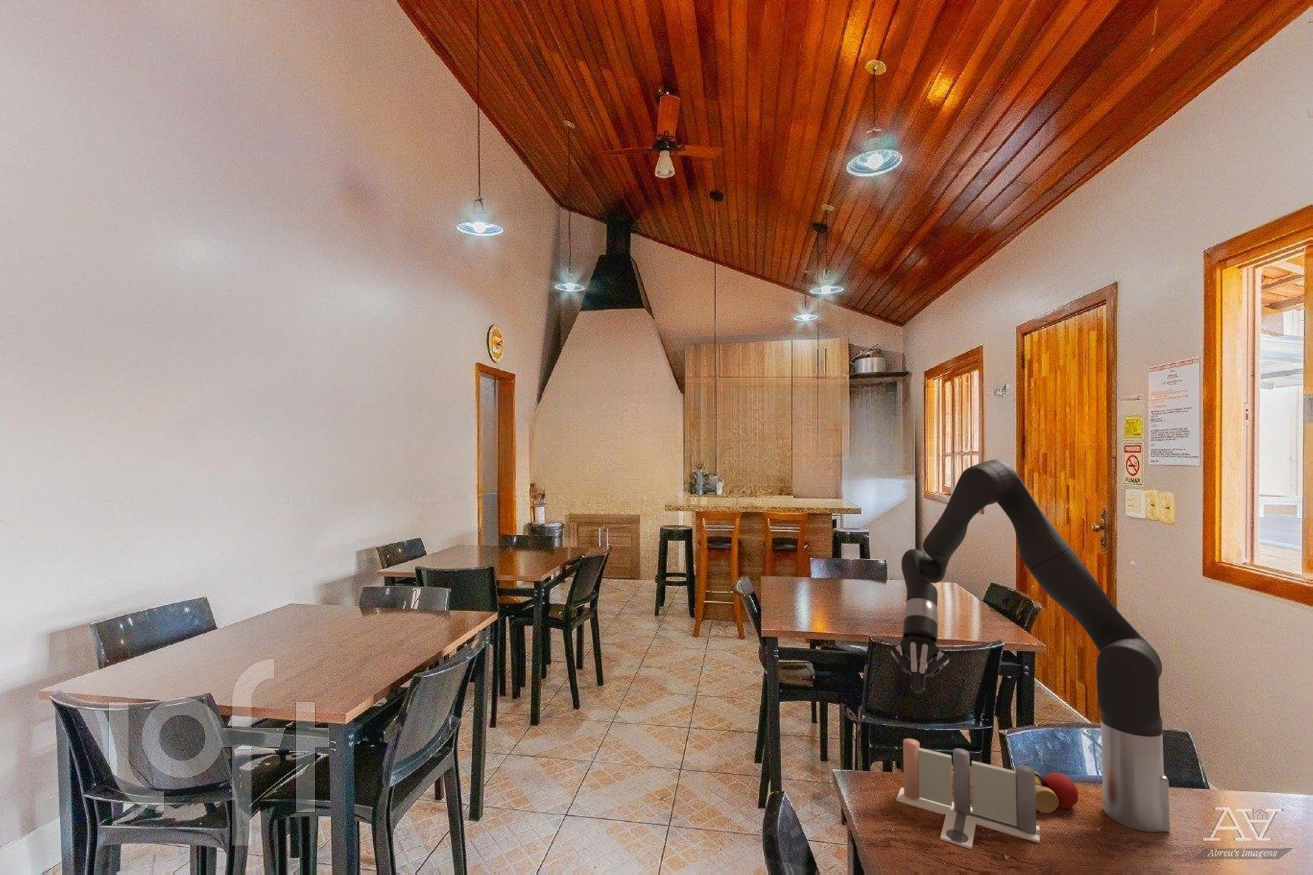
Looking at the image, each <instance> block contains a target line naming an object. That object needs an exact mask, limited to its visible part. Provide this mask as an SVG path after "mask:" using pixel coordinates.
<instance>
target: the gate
mask: <svg viewBox="0 0 1313 875" xmlns="http://www.w3.org/2000/svg"><path fill="white" fill-rule="evenodd" d="M902 741H903V742H902V743H903V745H902V746H903V750H902V751H903V752H902V753H903V756H902V757H903V788H904V795H905V796H907V797H908V798H911V799H919V798H923V799H927V800H930V801H934V802H937V803H941V804H944V805H948V806H952V802H953V780H952V779H953V777H952V776H953V772H952V771H953V768H952V763H953V760H952V755H951V754H946V753H943V752H939V751H934V750H931V749H927V748H922V747H920V741H918V740H916V739H914V738H904V739H903V740H902Z"/></svg>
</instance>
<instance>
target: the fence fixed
mask: <svg viewBox="0 0 1313 875" xmlns="http://www.w3.org/2000/svg"><path fill="white" fill-rule="evenodd" d="M952 751H953V752H952V759H953V760H952V763H953V768H952V771H953V802H954V810H955V812H957V813H959V814H961V815H966V816H967V815H969V814H970V807H972V813H976V814H979V815H983V816H986V817H990V818H993V819H997V820H1000V821H1004V822H1007V823H1011V824H1014V825H1017V826H1018V828H1020V829H1021V830H1023V831H1026V832H1036V825H1037V813H1036V812H1037V811H1036V800H1035V772H1036V771H1035V769H1033V768H1032V767H1030V766H1027V765H1022V764H1018V765H1016V766H1015V770H1012V769H1008V768H1005V767H1004V768H1003V767H1000V766H997V765H993V764H992V765H991V764H988V763H983V762H980V761H975V760H971V763H970V752H969V751H968V750H966V749H964V748H953V749H952ZM970 764H971V767H970ZM970 770H971V771H970ZM970 772H971V773H970ZM971 801H972V803H971ZM971 805H972V806H971Z"/></svg>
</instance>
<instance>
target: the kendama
mask: <svg viewBox="0 0 1313 875" xmlns="http://www.w3.org/2000/svg"><path fill="white" fill-rule="evenodd" d="M1077 788H1078V787H1077V786H1076V784H1075V783H1074V782H1073V780H1071V778H1069V777H1068V776H1066V775H1065V774H1062V773H1058V772H1052V773H1049V774H1047V775H1045V776H1044V777H1043V778H1042V777H1041V774H1039V773H1038V771H1035V800H1036V810H1037V811H1038V812H1039V811H1040V812H1039V813H1053V812H1055V811H1056V810H1057V808H1060V809H1061V808H1062V809H1069V808H1073V807H1074V806H1075V805H1076V804H1077V802H1078V800H1079V791H1078V789H1077Z"/></svg>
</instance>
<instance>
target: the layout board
mask: <svg viewBox="0 0 1313 875" xmlns="http://www.w3.org/2000/svg"><path fill="white" fill-rule="evenodd" d="M895 801H896V802H900V803H902V804H905V805H909V806H912V807H915V808H920V809H923V810H926V811H929V812H932V811H933V813H935V814H941V815H943V816H945V818H944V820H943V821H944V822H943V826H942V830H941V833H940V836H939V837H940V841H944V842H948V843H950V844H954V845H957V846H960V847H962V848H966V849H969V850H973V846H974V845H973V844H974V841H975V840H974V839H975V833H976V825H977V826H980V825H981V826H980V827H984V828H986V829H991V830H993V831H994V830H995V831H997V832H1001V833H1003V834H1006V835H1007V834H1008V835H1011V836H1014V837H1017V838H1021V839H1023V840H1024V839H1025V840H1028V841H1030V842H1031V841H1032V842H1035V843H1038V844H1039V843H1041V840H1040V837H1041V835H1040V833H1041V832H1040V826H1039V825H1037V824H1036V832H1026V831H1023V830H1021V829H1020V828H1018V826H1017V825H1014V824H1011V823H1007V822H1004V821H1000V820H997V819H993V818H990V817H986V816H983V815H979V814H976V813H972V806H970V814H969V815H967V816H966V815H961V814H959V813H957V812H955V810H954V801H952V806H948V805H944V804H941V803H937V802H934V801H930V800H927V799H923V798H919V799H911V798H908V797H907V796H905V795H904V787H900V789H899V791H898V794H897V797H896V800H895ZM944 814H945V815H944Z"/></svg>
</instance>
